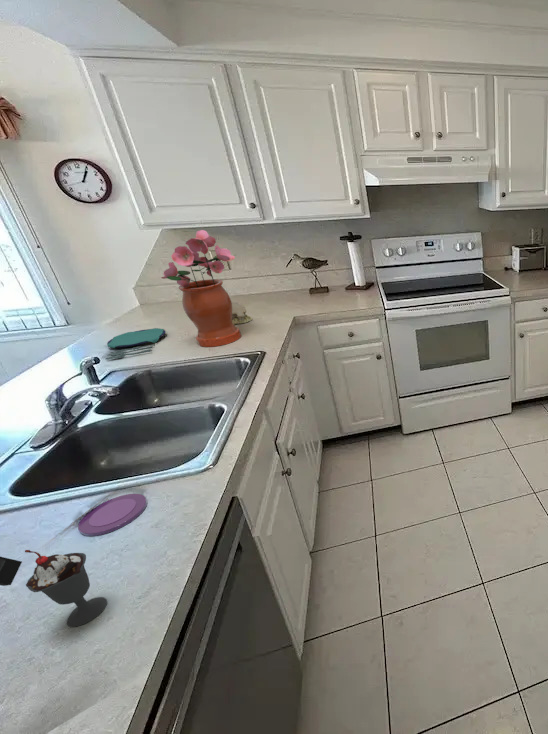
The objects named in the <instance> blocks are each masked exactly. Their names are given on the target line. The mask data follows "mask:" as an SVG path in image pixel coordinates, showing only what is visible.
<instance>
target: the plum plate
mask: <svg viewBox="0 0 548 734" xmlns="http://www.w3.org/2000/svg"><path fill="white" fill-rule="evenodd" d="M147 505H148V499H147V498H146V497H145V495H144V494H140V493H128V494H123V495H120V496H116V497H112V498H110V499H108V500H106V501H104V502H102V503H100V504H99V505H97V506H95V507H93V508H92V509H91V510H89V511H88V512H87V513H86V514H84V516H83V517H81V519H80V520H79V522H78V525H77V529H78V531H79V533H80V534H81V535H83V536H86V537H98V536H102V535H106V534H109V533H112V532H115V531H117V530H120V529H121V528H124V527H125V526H127V525H128V524H130V523H132V522H133V521H134V520H135V519H137V518H138V517H140V515H142V513H143V512H144V511H145V510H146V509H147Z"/></svg>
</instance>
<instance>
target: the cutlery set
mask: <svg viewBox="0 0 548 734" xmlns="http://www.w3.org/2000/svg"><path fill="white" fill-rule="evenodd" d="M165 334H166V330H165V328H160V327H159V328H158V327H154V328H147V329H140V330H136V331H128V332H127V331H126V332H124V333H121V334H119V335H115V336H113V337H112V338H111V339H110V340H108V341H107V343H106V346H107V347H108V348H110V349H117V348H124V349H120V350H113V351H110V352H109V353H107V355H106V356H107V357H105V358H104V360H113V359H119V358H124V357H126V356H133V355H140V354H145V353H151V352H152V349H154V347H156V345H155V344H157V342H158V341H159V339H160V338H162V337H163V336H165ZM147 343H152V344H150V345H144V346H140V345H143V344H147ZM138 345H139V346H138ZM134 346H136V347H134ZM127 347H131V348H127Z"/></svg>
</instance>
